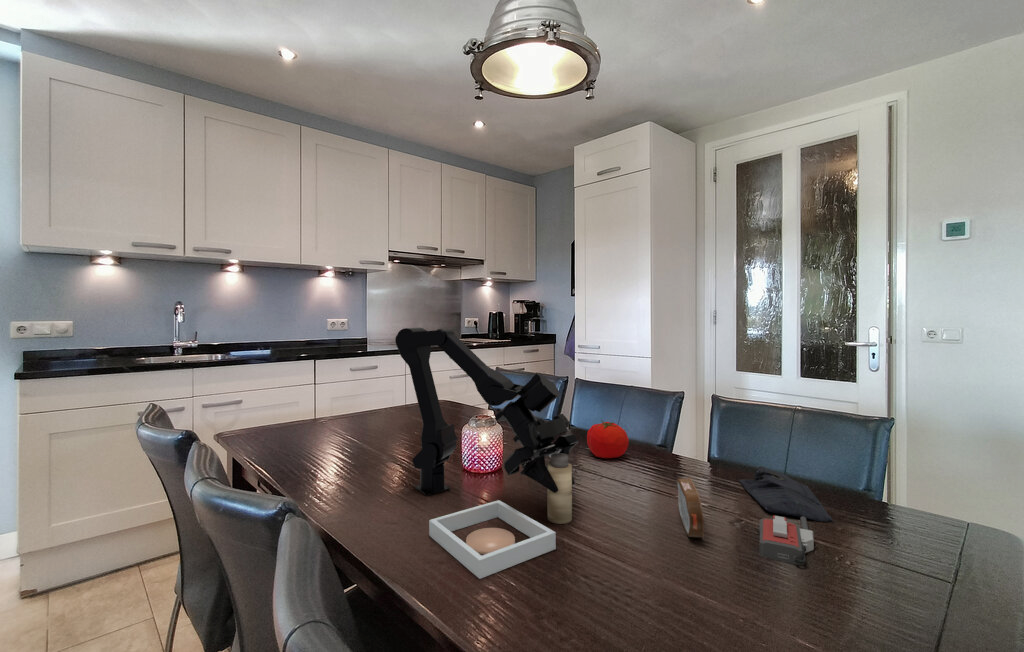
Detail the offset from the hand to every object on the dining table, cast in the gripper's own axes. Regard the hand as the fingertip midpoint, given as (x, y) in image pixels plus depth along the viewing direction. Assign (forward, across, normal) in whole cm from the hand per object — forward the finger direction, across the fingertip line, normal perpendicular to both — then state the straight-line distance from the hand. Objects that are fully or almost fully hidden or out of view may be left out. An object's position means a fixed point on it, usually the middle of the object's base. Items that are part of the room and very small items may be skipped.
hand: (565, 488), depth 95 cm
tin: (+19, +15, -9) cm, 25 cm away
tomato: (-7, +42, +17) cm, 46 cm away
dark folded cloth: (+26, +42, -15) cm, 52 cm away
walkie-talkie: (+30, +22, -19) cm, 41 cm away
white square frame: (+2, -17, +8) cm, 18 cm away
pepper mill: (+4, 0, +6) cm, 7 cm away
